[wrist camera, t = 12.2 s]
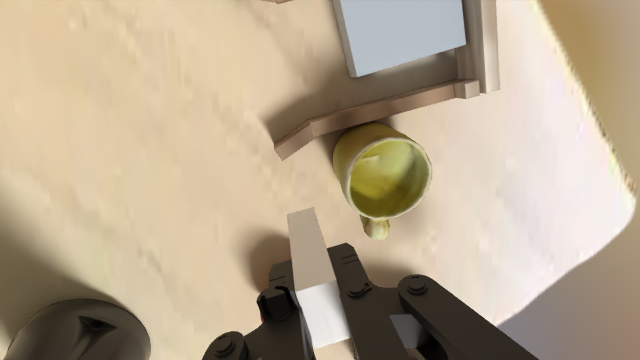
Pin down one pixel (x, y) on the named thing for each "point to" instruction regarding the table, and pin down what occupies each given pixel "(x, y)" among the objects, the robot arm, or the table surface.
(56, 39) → the table surface
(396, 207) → the mug
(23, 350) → the robot arm
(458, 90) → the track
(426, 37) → the pale blue block
